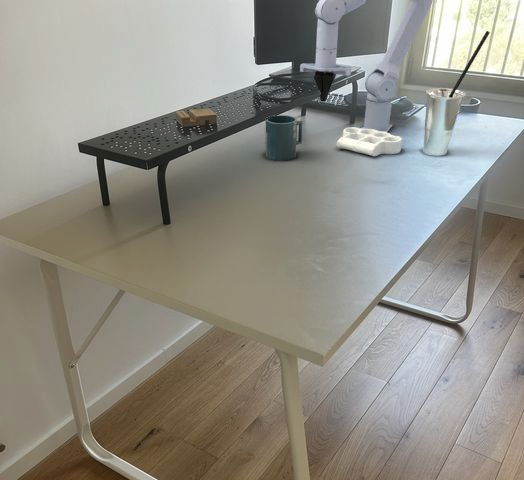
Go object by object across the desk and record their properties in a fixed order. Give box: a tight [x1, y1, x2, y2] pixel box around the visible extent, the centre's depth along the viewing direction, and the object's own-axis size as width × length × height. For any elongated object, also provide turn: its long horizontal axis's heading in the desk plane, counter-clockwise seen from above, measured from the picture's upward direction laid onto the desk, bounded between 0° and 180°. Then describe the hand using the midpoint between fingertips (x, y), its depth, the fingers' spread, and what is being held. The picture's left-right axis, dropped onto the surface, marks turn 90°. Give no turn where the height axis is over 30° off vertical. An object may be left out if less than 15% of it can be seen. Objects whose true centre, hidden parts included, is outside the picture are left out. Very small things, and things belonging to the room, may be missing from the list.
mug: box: [265, 114, 303, 162], centre depth 150 cm, size 11×8×10 cm
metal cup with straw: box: [422, 30, 491, 157], centre depth 144 cm, size 11×11×30 cm
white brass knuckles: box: [336, 126, 403, 157], centre depth 156 cm, size 3×18×15 cm
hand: (323, 100), depth 162 cm, fingers closed
